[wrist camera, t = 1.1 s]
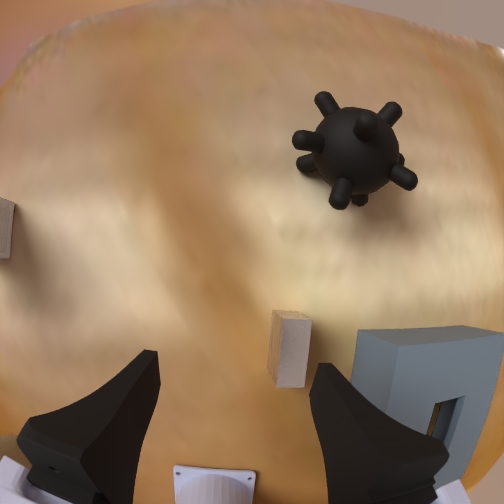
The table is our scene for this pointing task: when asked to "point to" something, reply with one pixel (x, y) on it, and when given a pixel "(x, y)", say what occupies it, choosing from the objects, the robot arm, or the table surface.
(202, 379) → the table surface
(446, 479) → the grey square hole block
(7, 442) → the plant pot
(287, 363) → the wooden block
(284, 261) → the table surface
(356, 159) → the toy ball
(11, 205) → the skincare box
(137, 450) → the robot arm
